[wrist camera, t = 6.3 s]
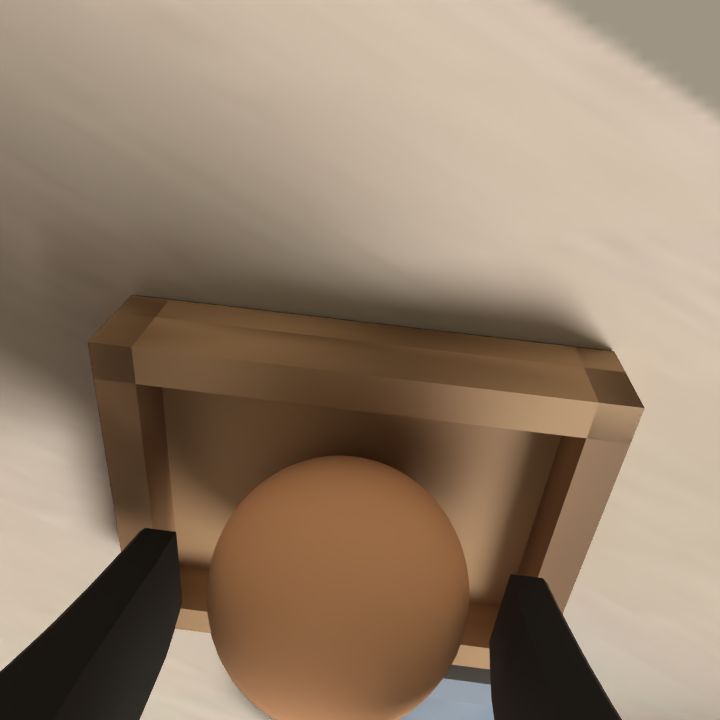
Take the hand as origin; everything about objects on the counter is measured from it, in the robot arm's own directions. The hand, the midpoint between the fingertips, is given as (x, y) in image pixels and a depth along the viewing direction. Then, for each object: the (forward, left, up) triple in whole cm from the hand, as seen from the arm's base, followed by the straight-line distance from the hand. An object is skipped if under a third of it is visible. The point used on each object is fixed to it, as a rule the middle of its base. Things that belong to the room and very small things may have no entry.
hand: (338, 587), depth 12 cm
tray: (0, 0, -3) cm, 3 cm away
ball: (0, 0, -3) cm, 3 cm away
